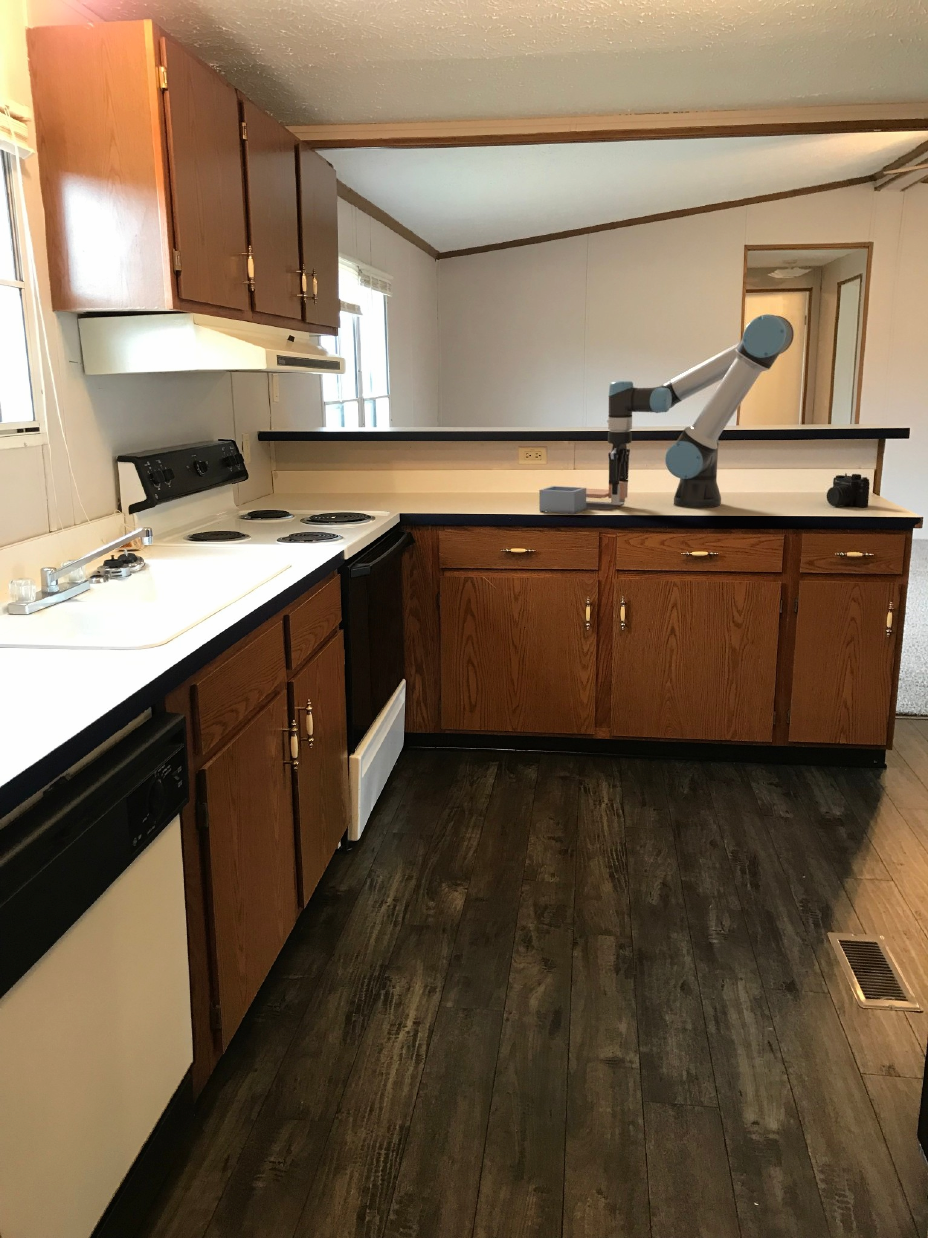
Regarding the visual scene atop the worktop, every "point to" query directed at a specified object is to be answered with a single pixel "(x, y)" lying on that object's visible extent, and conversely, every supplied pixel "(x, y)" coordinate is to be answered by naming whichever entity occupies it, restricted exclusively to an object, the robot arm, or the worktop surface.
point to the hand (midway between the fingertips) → (618, 503)
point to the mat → (601, 505)
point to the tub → (562, 499)
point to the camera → (849, 491)
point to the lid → (607, 491)
